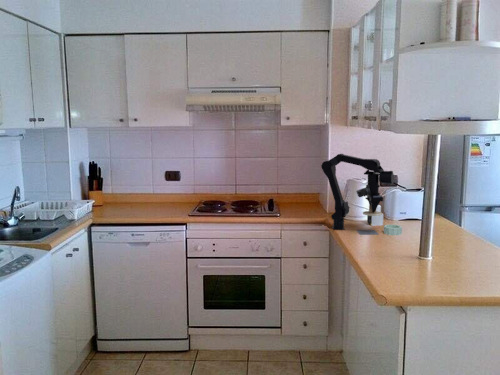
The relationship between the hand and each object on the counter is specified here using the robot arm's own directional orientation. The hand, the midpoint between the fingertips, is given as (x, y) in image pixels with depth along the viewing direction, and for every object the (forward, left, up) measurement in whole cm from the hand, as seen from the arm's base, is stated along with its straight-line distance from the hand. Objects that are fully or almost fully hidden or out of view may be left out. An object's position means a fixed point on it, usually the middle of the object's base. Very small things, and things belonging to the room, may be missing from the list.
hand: (372, 211), depth 234 cm
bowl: (+1, +11, -12) cm, 16 cm away
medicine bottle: (-20, +7, -12) cm, 24 cm away
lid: (0, 0, -1) cm, 1 cm away
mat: (-1, -2, -12) cm, 12 cm away
